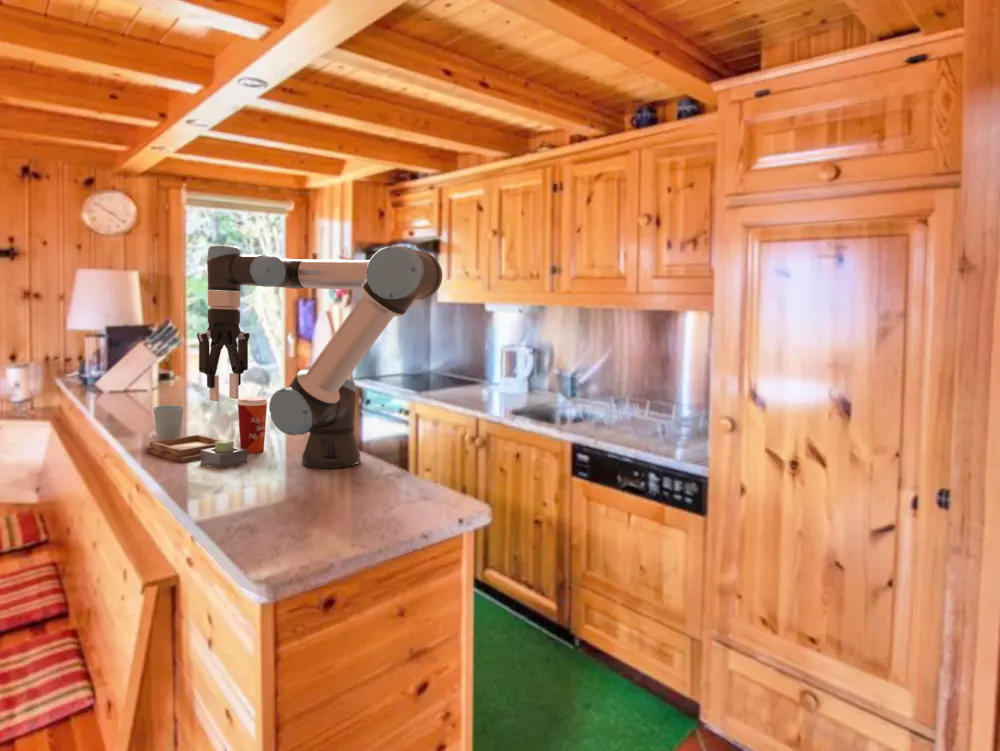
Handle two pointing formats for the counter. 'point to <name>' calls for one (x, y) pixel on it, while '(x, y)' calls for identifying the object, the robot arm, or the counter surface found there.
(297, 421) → the robot arm
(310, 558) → the counter surface
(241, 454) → the button housing
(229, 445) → the button
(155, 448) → the wooden tray
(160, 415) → the cup
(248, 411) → the coffee cup
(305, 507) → the counter surface
